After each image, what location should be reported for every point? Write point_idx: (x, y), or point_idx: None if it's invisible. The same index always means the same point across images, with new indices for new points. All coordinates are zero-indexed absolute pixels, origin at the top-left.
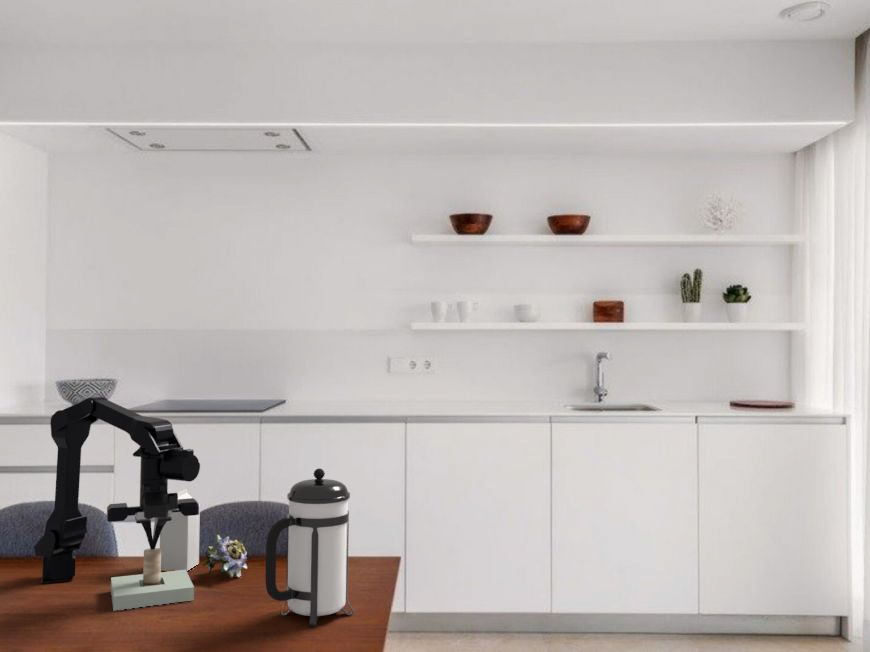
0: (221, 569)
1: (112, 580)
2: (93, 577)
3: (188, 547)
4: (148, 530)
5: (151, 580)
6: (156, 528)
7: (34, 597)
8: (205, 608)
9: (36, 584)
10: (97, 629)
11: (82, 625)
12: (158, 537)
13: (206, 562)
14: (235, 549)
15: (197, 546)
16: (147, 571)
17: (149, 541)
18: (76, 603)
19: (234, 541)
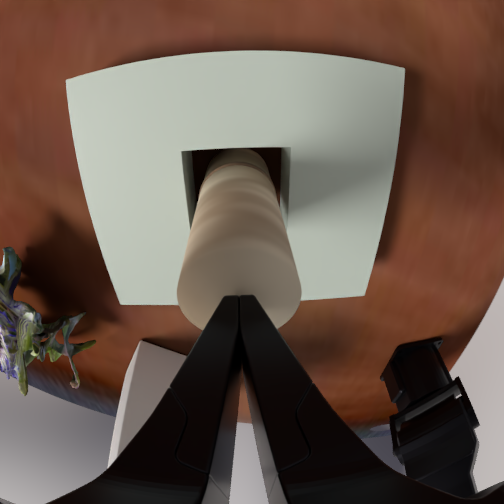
0: (11, 253)
1: (369, 266)
2: (355, 359)
3: (126, 398)
4: (308, 437)
5: (241, 167)
6: (202, 458)
7: (480, 272)
8: (67, 2)
9: (445, 338)
10: None
11: (454, 4)
12: (184, 363)
13: (84, 344)
14: None
15: (118, 407)
16: (265, 191)
17: (273, 339)
18: (445, 197)
19: None
